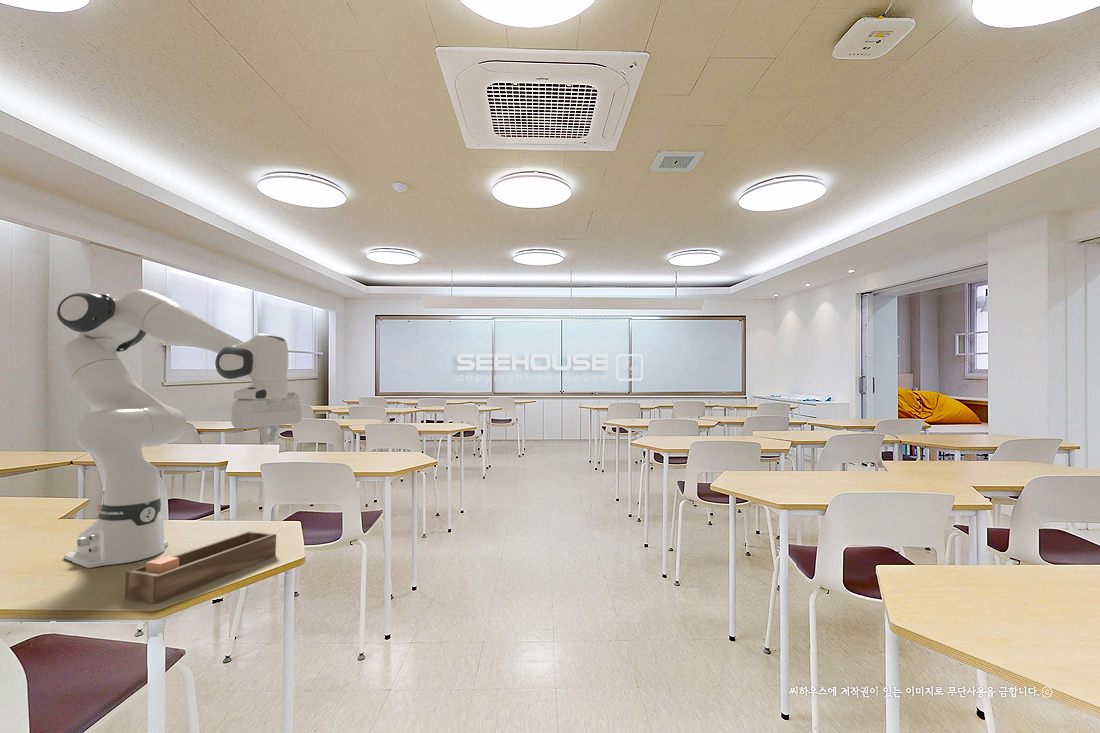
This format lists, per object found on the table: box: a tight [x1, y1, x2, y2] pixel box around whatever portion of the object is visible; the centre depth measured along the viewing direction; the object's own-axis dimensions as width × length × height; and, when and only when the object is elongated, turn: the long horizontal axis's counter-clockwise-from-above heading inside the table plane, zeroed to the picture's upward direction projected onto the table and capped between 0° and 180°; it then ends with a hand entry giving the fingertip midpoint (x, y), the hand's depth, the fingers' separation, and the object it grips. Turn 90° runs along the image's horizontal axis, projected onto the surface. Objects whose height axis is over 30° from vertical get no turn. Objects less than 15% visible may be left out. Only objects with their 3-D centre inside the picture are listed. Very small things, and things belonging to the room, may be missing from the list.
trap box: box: [124, 530, 277, 604], centre depth 116 cm, size 9×30×6 cm, turn 164°
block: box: [145, 555, 179, 574], centre depth 106 cm, size 4×4×4 cm
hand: (268, 442), depth 135 cm, fingers closed
